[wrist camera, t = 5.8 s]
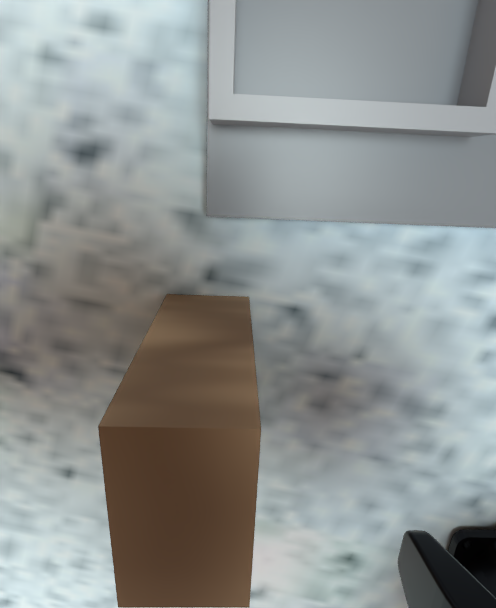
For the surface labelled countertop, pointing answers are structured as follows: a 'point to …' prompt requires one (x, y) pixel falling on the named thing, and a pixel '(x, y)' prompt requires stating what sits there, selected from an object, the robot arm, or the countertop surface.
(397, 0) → the grey socket board
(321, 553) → the countertop surface
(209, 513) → the billet
